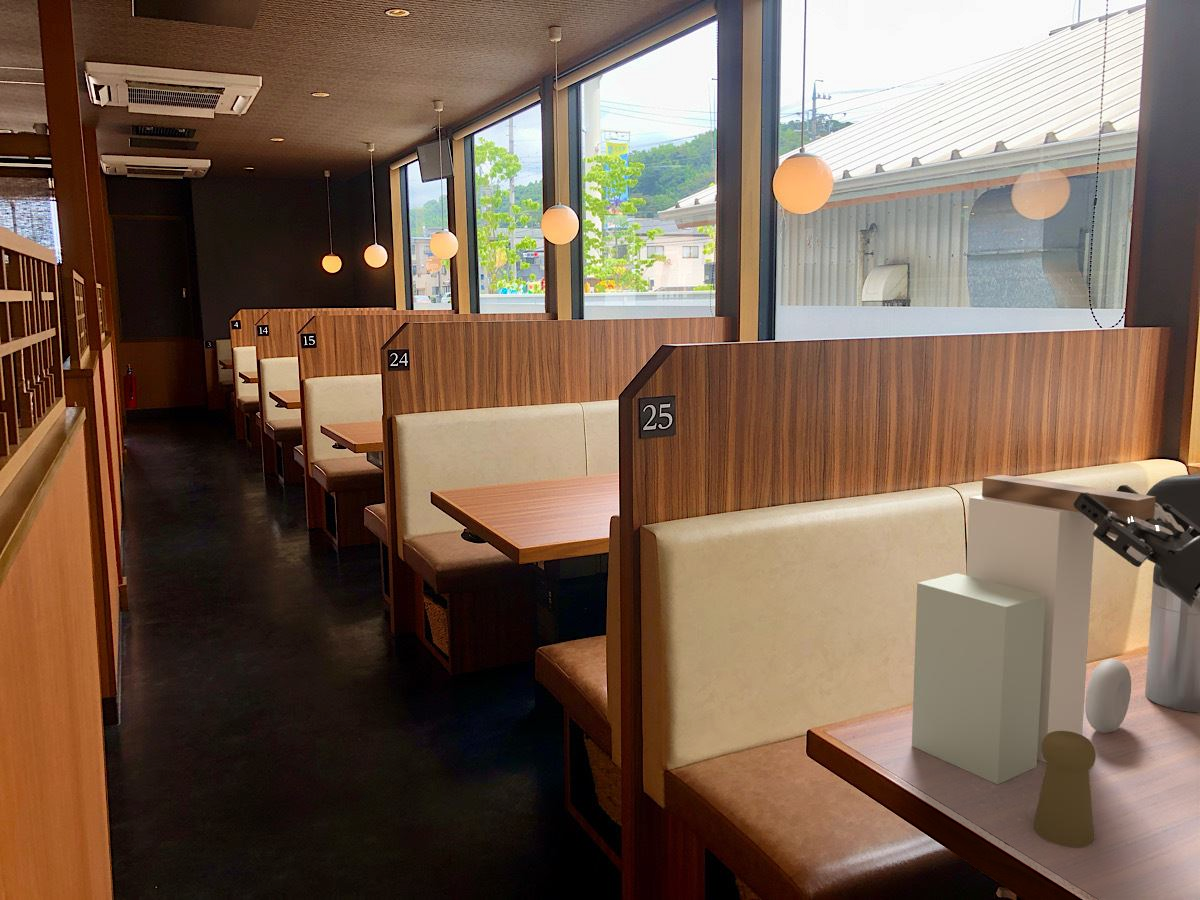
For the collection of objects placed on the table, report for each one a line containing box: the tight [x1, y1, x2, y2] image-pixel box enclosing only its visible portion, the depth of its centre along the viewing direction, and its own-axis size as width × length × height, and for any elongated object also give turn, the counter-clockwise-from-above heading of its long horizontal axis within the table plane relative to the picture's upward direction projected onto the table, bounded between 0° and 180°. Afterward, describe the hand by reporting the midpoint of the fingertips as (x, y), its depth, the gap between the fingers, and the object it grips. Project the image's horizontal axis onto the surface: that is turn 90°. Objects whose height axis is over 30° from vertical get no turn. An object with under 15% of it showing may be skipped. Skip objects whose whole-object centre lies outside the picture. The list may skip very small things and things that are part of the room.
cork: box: [1032, 731, 1097, 848], centre depth 100 cm, size 6×6×11 cm
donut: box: [1084, 658, 1132, 734], centre depth 125 cm, size 10×4×10 cm, turn 134°
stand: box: [911, 494, 1096, 785], centre depth 119 cm, size 12×18×32 cm
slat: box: [981, 474, 1156, 520], centre depth 116 cm, size 20×4×2 cm, turn 33°
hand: (1098, 494), depth 112 cm, fingers open, 8 cm apart
